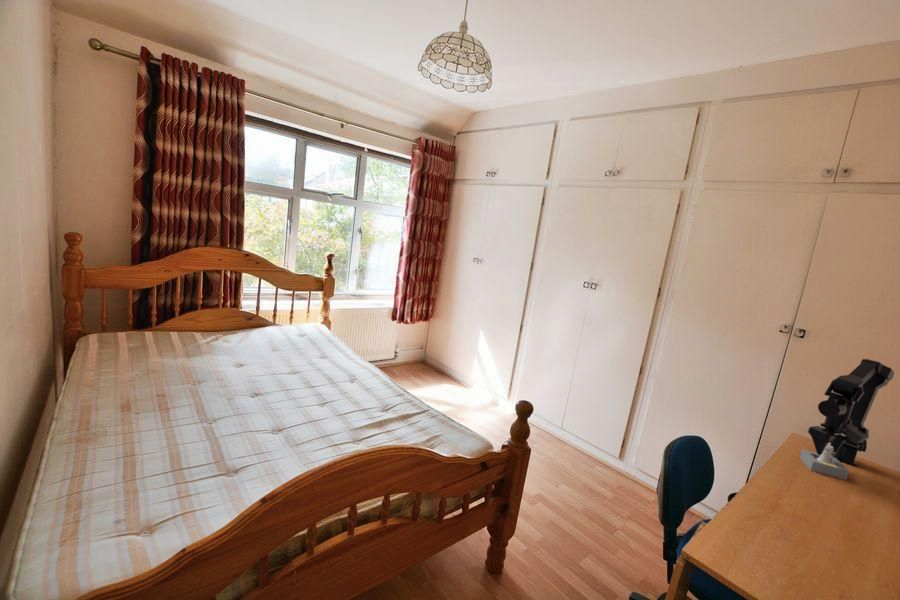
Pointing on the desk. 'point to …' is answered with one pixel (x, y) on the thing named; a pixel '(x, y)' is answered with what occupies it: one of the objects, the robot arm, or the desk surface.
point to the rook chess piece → (826, 454)
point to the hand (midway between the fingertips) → (826, 453)
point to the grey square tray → (824, 465)
